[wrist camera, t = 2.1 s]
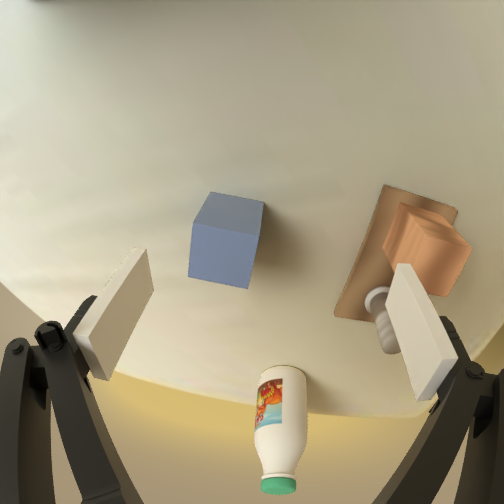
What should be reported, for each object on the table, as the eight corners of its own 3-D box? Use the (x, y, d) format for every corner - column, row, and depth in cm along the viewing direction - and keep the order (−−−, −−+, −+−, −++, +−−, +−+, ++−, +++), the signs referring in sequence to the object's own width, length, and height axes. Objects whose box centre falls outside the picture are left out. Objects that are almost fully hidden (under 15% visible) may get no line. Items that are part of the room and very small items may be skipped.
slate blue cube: (204, 238, 36) (188, 276, 30) (210, 191, 33) (192, 223, 27) (253, 248, 37) (247, 289, 30) (263, 202, 34) (259, 236, 27)
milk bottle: (301, 360, 46) (302, 482, 29) (309, 387, 50) (311, 495, 33) (253, 367, 48) (240, 484, 31) (266, 393, 52) (257, 498, 34)
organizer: (333, 311, 41) (342, 363, 33) (383, 184, 31) (413, 220, 24) (397, 321, 41) (414, 369, 33) (454, 207, 31) (492, 245, 24)
